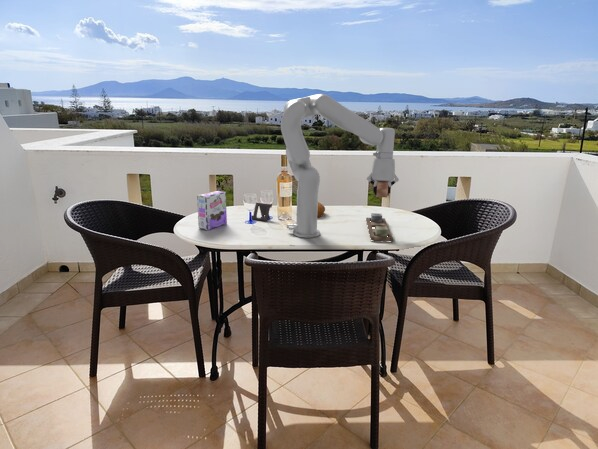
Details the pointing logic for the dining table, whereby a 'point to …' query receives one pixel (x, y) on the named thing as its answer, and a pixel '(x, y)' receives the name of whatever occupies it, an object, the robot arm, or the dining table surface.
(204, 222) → the candy box
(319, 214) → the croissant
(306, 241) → the dining table surface
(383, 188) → the terracotta block
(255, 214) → the portable electronic device stand
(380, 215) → the walnut puzzle base
